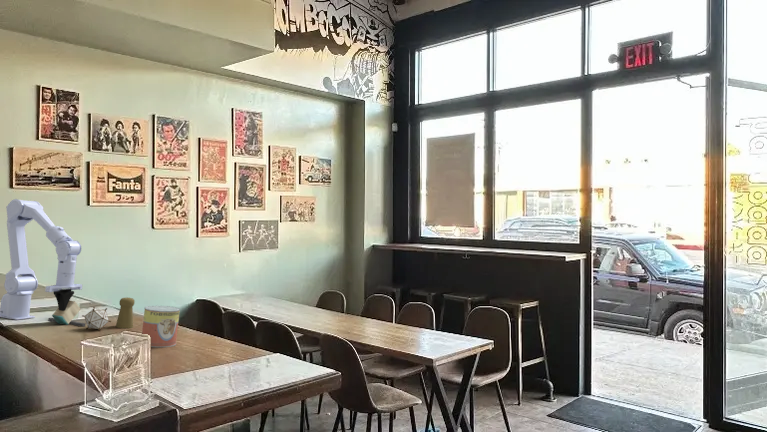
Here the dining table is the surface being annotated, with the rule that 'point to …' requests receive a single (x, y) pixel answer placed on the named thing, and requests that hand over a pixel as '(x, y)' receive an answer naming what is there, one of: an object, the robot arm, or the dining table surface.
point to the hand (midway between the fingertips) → (62, 310)
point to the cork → (125, 313)
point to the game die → (96, 318)
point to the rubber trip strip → (69, 323)
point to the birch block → (66, 313)
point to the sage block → (77, 313)
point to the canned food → (161, 325)
